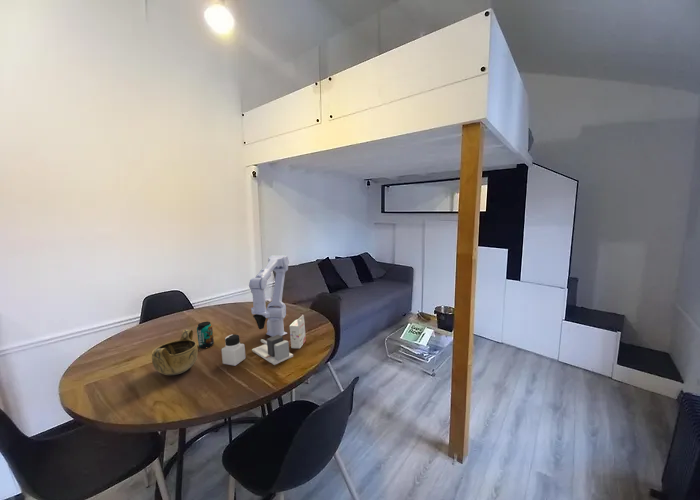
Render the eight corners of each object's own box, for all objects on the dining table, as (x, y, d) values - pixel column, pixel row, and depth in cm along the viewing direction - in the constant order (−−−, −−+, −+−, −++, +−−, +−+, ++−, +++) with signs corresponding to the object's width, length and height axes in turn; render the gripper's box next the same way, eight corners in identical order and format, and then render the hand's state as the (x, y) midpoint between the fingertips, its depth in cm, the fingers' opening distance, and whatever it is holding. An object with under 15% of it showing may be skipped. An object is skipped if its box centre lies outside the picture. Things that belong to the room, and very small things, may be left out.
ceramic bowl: (181, 386, 113) (177, 350, 111) (139, 387, 113) (134, 351, 111) (209, 357, 135) (206, 327, 133) (174, 358, 135) (170, 328, 133)
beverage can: (216, 345, 147) (214, 323, 146) (201, 350, 142) (199, 327, 141) (210, 341, 152) (208, 320, 151) (196, 346, 147) (194, 324, 146)
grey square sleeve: (267, 354, 133) (266, 338, 132) (279, 349, 137) (278, 334, 136) (272, 356, 130) (271, 341, 129) (283, 351, 134) (282, 336, 134)
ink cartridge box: (297, 340, 150) (295, 313, 148) (306, 341, 149) (304, 313, 147) (290, 348, 141) (288, 319, 139) (299, 348, 140) (298, 320, 138)
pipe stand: (252, 351, 140) (250, 335, 139) (270, 343, 147) (269, 329, 146) (274, 365, 126) (273, 347, 125) (293, 356, 133) (292, 340, 132)
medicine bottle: (246, 358, 133) (243, 333, 131) (235, 366, 126) (232, 340, 125) (233, 356, 135) (231, 332, 134) (222, 363, 129) (219, 338, 127)
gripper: (244, 301, 141) (246, 327, 143) (259, 306, 131) (261, 335, 133) (257, 297, 146) (259, 323, 148) (272, 303, 136) (274, 330, 138)
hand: (261, 328), depth 141 cm, fingers closed
